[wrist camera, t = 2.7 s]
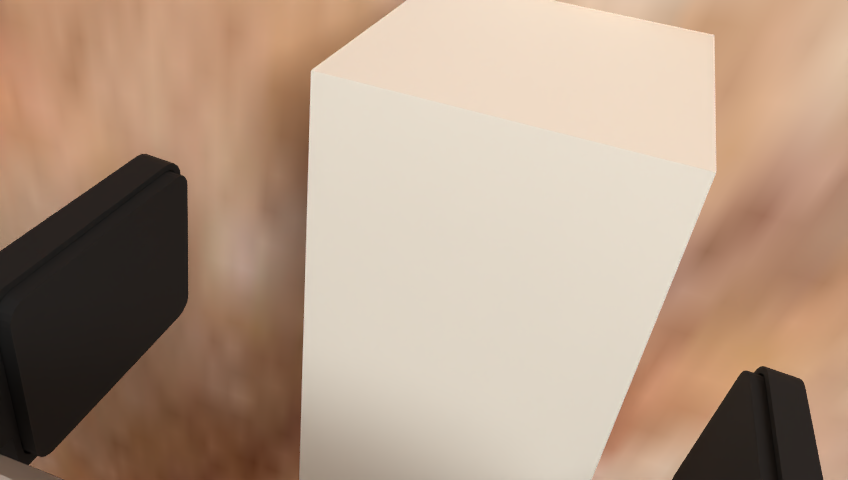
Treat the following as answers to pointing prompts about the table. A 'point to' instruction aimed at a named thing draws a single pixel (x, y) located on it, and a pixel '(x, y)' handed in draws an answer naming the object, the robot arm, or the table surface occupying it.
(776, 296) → the table surface
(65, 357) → the robot arm
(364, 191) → the cream bar block
